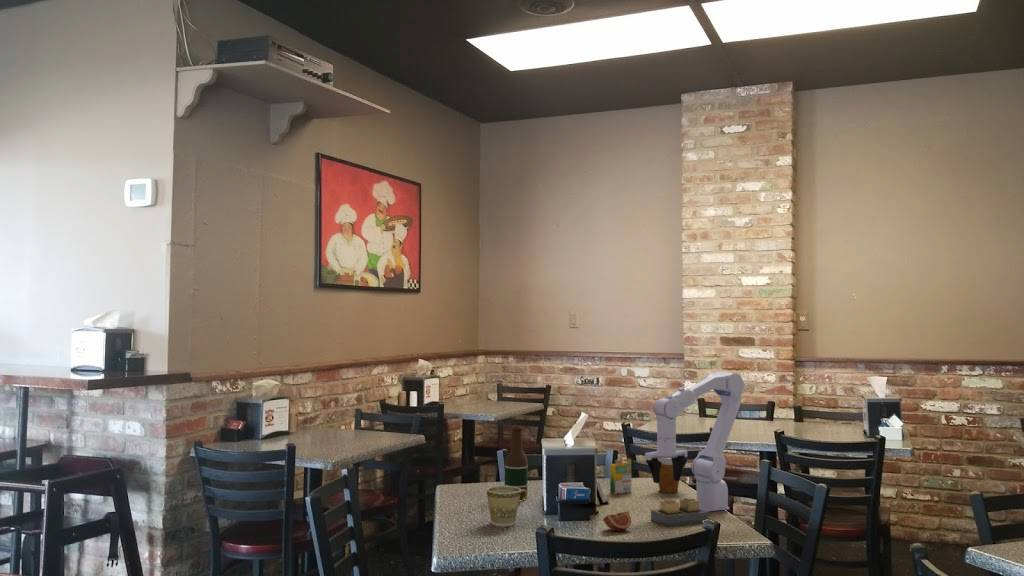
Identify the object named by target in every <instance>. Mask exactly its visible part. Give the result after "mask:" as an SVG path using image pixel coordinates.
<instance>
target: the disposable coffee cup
mask: <svg viewBox="0 0 1024 576" xmlns="http://www.w3.org/2000/svg"><path fill="white" fill-rule="evenodd" d="M658 460H659V461H660V462H662V464H661V468H660V481H659V483H658V488H659V490H660V491H659V492H661V491H662V493H665V492H668V493H667V494H675V493H678V491H679V482H680V481H675V480H674V478H673V464H672V460H671V458H663V459H658Z"/></svg>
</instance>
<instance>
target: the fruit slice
mask: <svg viewBox="0 0 1024 576" xmlns="http://www.w3.org/2000/svg"><path fill="white" fill-rule="evenodd" d="M603 522H604V523H605V525H606V526H607V527H608V528H609V529H610V530H613V531H615V532H624V531H626V530H627V529H629V528H630V526H631V525H632V524H631V523H632V517H631V515H630V512H629V510H628V511H623V512H619V513H617V512H616V513H615V514H614V513H613V514H608V515H606V516H604V518H603Z"/></svg>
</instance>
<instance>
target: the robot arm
mask: <svg viewBox="0 0 1024 576" xmlns="http://www.w3.org/2000/svg"><path fill="white" fill-rule="evenodd" d="M744 388H745V383H744V380H743V377H742V376H741V374H739V373H738V372H724V371H718V370H717V371H714V372H712V373H710V374H709V373H708V375H707V377H705V378H704V379H703V380H701V381H700V382H698V383H696V384H694V385H693V386H691V388H689V387H679V388H678V391H676V392H673V393H672V394H670V393H669V394H668V395H667V397H666V398H662V397H661V398H659V399H657V400H656V401H655V403H654V406H653V407H652V411H653V413H654V415H655V417H656V418H655V420H656V422H657V423H656V427H657V431H656V433H657V434H656V436H657V437H656V438H657V439H656V450H655V451H651V452H645V453H644V458H645V463H647V466H648V469H649V471H650V473H651V476H652V477H651V478H652V480H653V483H654V484H659V481H660V468H661V464H662V462H660V461H659V460H658V459H663V458H671V460H672V464H673V478H674V480H675V481H679V482H680V481H681V476H682V473H683V470H684V467H685V465H686V464H687V462H688V459H687V458H688V450H685V449H677V417H679V416H680V413H681V412H682V411H683V410H685V409H686V408H688V407H690V406H692V405H693V404H695V401H696V399H697V398H699V397H700V396H703V395H706V393H709V392H711V391H714V393H715V394H716V397H718V398H719V399H720V401H721V405H720V408H719V411H718V414H717V417H716V418H715V422H714V424H713V427H712V430H711V433H710V436H709V438H708V441H707V444H706V446H705V447H704V448H703V449H701V450H700V451H699V452H698V453H697V456H696V457H695V458H694V459H693V461H692V463H691V472H692V474H693V475H694V477H695V479H696V499H695V500H698V501H699V509H702V510H705V511H708V512H716V511H724V510H730V507H729V506H728V505H729V503H728V502H729V501H728V500H729V489H728V487H729V486H728V485H727V483H726V481H725V480H723V478H724V476H725V475H726V474H725V473H726V466H727V459H726V458H725V456H724V451H725V448H726V446H727V443H728V440H729V436H730V434H731V431H732V430H733V426H734V422H735V420H736V418H737V414H738V413H739V409H740V407H741V404H742V402H741V401H742V395H743V391H744Z"/></svg>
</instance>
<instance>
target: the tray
mask: <svg viewBox="0 0 1024 576" xmlns="http://www.w3.org/2000/svg"><path fill="white" fill-rule="evenodd" d="M709 512H710V511H705V510H702V509H699V501H698V500H696V499H695V498H694V497H691V496H690V497H683V498H679V514H673V515H666V514H664V513H661V512H660V508H658V509H650V521H652V522H655V523H657V524H659V525H661V526H664V527H666V528H667V527H678V526H685V525H687V526H688V525H695V524H702V521H703V520H706V519H709V516H710V515H709ZM709 520H710V519H709Z"/></svg>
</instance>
